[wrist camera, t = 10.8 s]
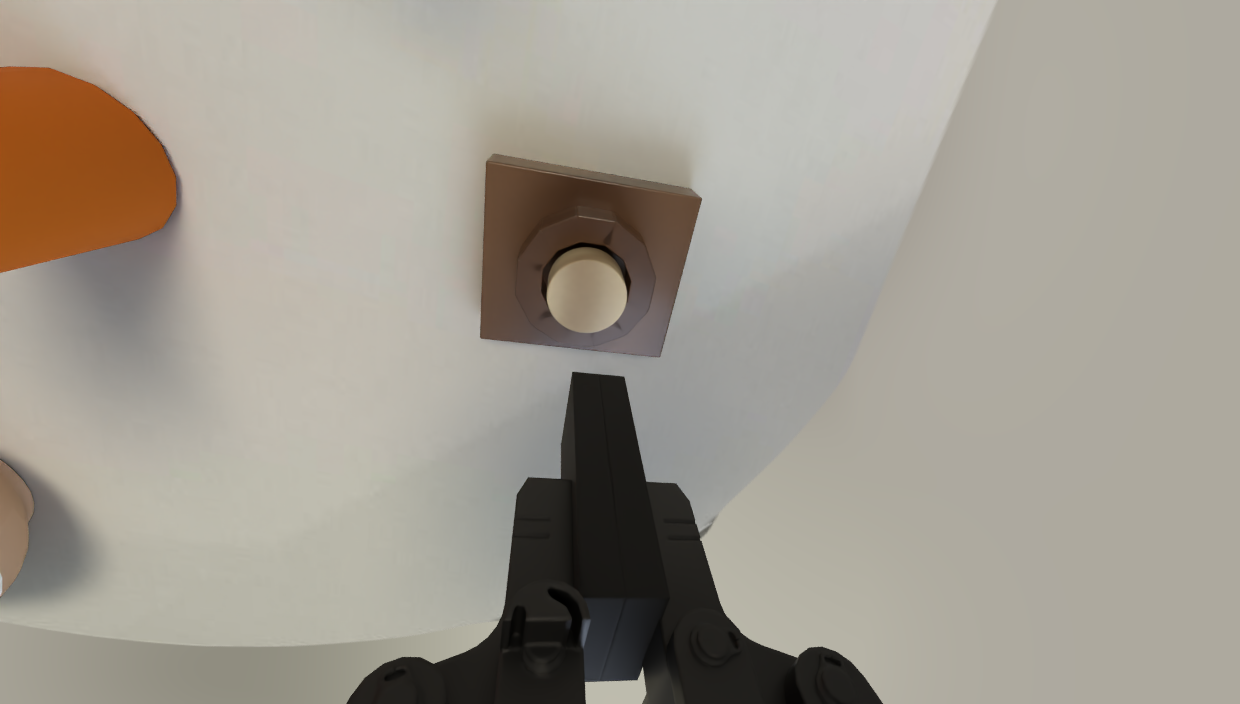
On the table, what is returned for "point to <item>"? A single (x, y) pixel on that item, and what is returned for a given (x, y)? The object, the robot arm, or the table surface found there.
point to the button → (586, 290)
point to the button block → (573, 218)
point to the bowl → (13, 524)
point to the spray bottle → (74, 169)
